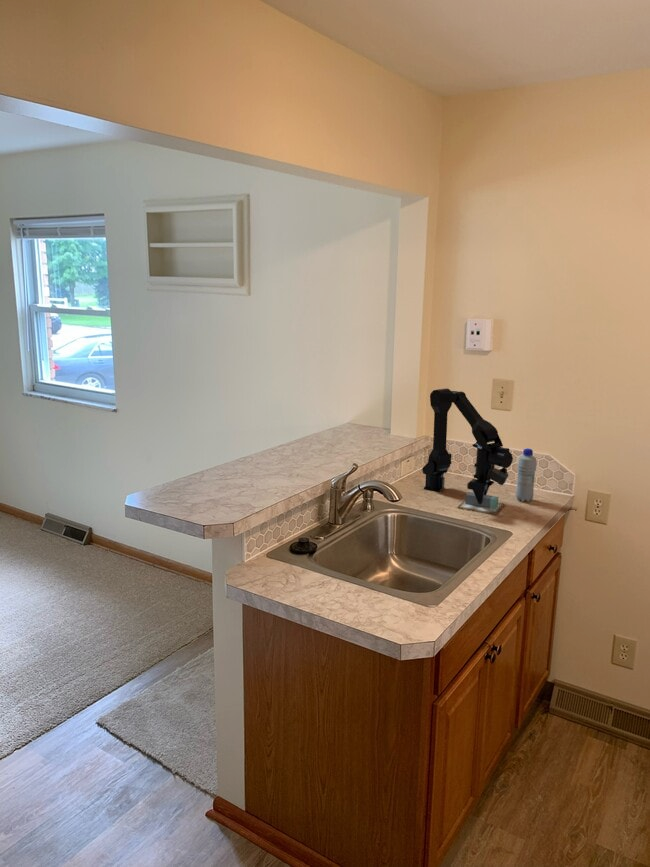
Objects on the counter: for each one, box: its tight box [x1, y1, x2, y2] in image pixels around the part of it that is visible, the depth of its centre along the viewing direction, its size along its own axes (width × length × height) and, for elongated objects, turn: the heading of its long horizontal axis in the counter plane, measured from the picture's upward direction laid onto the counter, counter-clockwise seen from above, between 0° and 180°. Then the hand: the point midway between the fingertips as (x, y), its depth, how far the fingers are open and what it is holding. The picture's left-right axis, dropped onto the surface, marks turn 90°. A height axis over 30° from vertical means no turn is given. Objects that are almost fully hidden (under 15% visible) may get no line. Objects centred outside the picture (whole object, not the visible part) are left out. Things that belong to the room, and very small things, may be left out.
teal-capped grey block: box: [464, 491, 499, 509], centre depth 242 cm, size 11×4×4 cm, turn 61°
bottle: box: [515, 448, 537, 503], centre depth 247 cm, size 7×7×20 cm
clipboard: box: [457, 498, 506, 516], centre depth 243 cm, size 14×12×1 cm
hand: (481, 502), depth 242 cm, fingers closed on teal-capped grey block, 3 cm apart
